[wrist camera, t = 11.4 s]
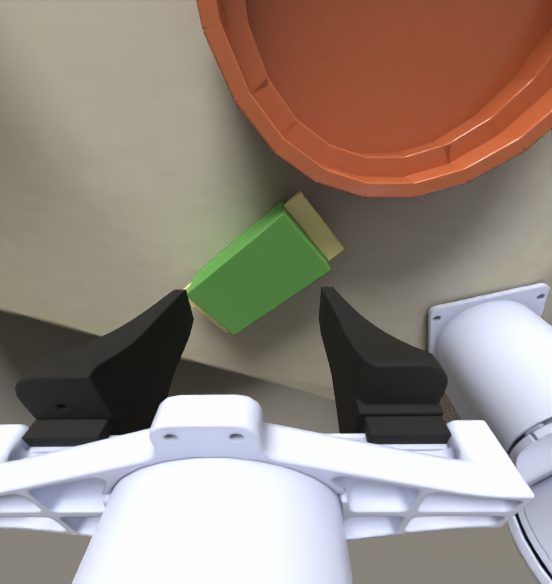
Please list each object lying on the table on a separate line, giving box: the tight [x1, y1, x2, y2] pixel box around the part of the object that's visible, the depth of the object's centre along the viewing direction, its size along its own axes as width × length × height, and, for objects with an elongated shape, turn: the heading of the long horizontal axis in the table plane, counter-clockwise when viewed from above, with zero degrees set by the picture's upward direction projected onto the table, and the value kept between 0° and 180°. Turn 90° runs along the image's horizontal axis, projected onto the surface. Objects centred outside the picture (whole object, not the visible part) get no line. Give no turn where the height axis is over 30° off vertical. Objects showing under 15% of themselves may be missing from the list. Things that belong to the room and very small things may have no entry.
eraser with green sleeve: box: [183, 191, 345, 335], centre depth 17 cm, size 4×10×3 cm, turn 130°
